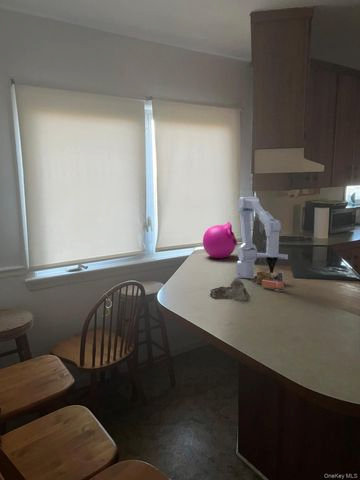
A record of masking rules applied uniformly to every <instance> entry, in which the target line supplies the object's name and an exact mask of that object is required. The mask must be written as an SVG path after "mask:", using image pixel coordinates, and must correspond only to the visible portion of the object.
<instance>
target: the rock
mask: <svg viewBox="0 0 360 480" xmlns="http://www.w3.org/2000/svg"><path fill="white" fill-rule="evenodd" d="M209 297H211V298H212V299H213V298H214V300H232V299H238V301H244V299H246V300H247V299H248V298H249V297H250V294H249V292H248V291H247V289H246V288H245V284H244V282H243V281H242V280H241V279H240V278H239V277H235V278H233V280H232V281H231V283H230V286H219V287H214V288H211V289H210V293H209ZM247 297H248V298H247Z"/></svg>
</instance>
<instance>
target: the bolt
mask: <svg viewBox="0 0 360 480" xmlns="http://www.w3.org/2000/svg"><path fill="white" fill-rule="evenodd" d="M269 279H271V280H272V281H276V282H278V281H280V282H284V271H283V270H277V274H271V275H269Z"/></svg>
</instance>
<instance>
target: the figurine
mask: <svg viewBox="0 0 360 480" xmlns="http://www.w3.org/2000/svg"><path fill="white" fill-rule="evenodd" d="M202 245H203V249H204V251H205V253H206V254H207V255H208V256H209V257H212V258H215V259H224V258H227V257H230V255H232V254H233V252H234V251H235V250H236V246H238V240H237V238H236V236H235V233H234V232H233V226H232V222H230V221H227V223H225V224H216V225H213V226H210V227H209V228H207V229H206V231H205V232H204V233H203V238H202Z"/></svg>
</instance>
